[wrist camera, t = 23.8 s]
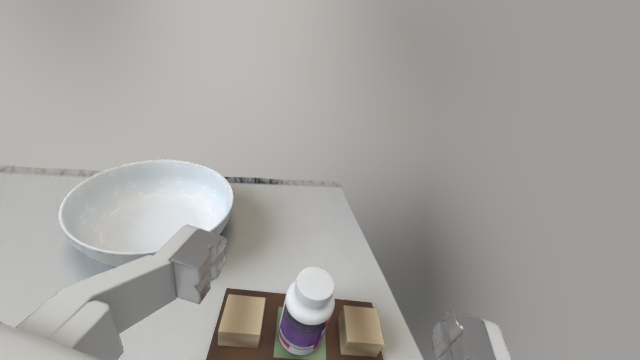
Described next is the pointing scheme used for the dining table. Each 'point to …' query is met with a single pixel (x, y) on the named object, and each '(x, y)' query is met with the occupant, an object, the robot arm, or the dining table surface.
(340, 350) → the word board
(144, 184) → the serving bowl
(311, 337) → the pill bottle
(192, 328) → the dining table surface
